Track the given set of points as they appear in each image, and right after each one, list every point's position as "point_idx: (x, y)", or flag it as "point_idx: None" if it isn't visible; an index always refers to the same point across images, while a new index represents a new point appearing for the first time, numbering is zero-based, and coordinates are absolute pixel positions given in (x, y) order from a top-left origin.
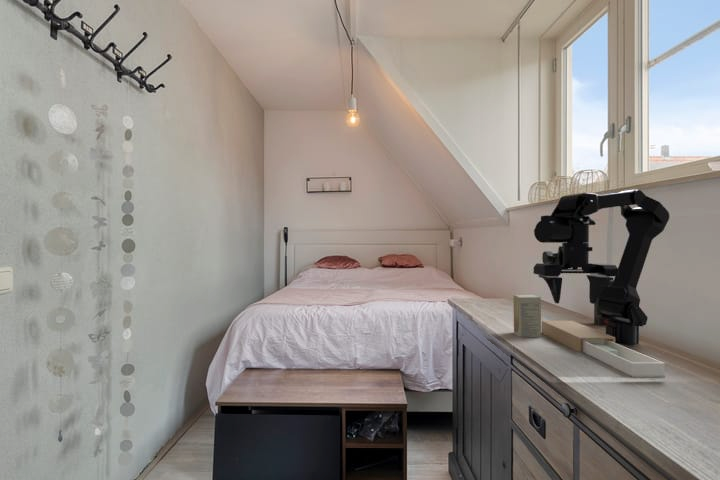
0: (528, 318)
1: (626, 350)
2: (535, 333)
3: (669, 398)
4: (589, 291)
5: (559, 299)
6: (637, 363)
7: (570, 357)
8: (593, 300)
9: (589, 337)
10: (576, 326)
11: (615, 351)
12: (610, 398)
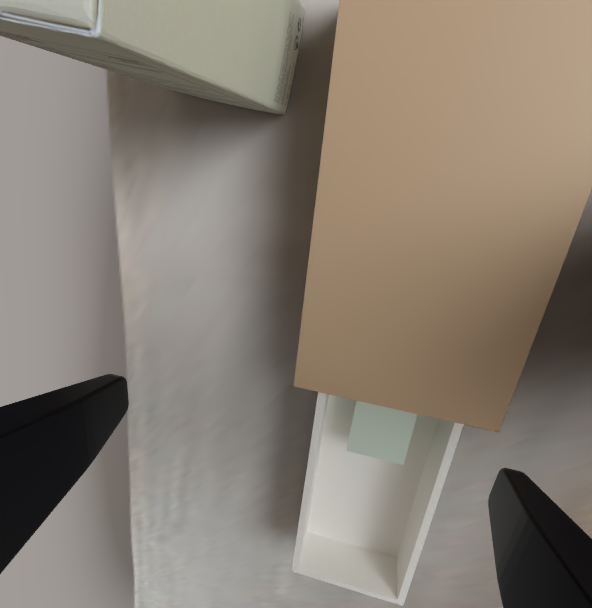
0: (138, 75)
1: (430, 485)
2: (238, 103)
3: (300, 590)
4: (584, 597)
5: (94, 452)
6: (308, 576)
7: (260, 352)
8: (493, 542)
9: (348, 398)
10: (497, 181)
11: (392, 459)
12: (174, 549)
